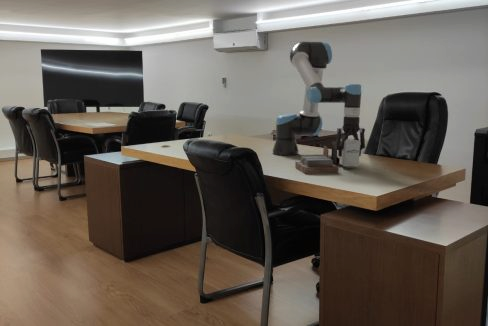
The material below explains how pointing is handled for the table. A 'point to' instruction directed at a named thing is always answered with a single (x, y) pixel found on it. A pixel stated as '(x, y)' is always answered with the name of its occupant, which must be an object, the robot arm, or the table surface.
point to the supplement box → (351, 152)
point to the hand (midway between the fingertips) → (349, 162)
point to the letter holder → (333, 154)
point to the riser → (316, 165)
